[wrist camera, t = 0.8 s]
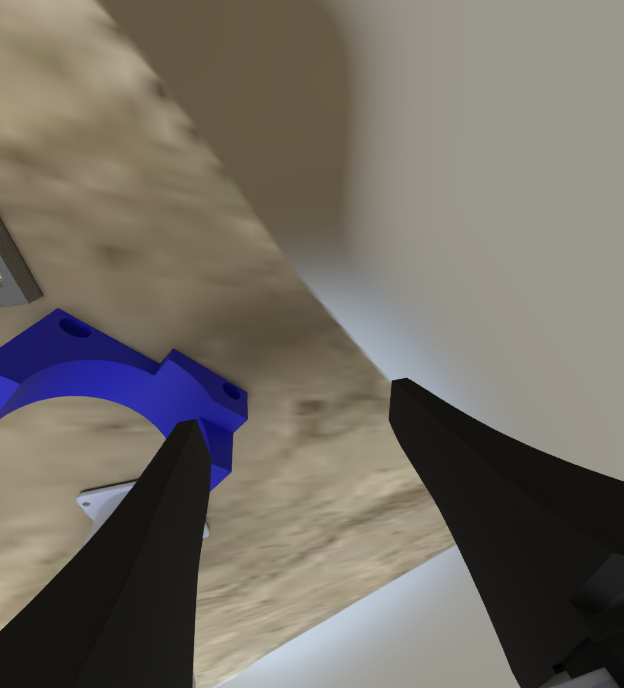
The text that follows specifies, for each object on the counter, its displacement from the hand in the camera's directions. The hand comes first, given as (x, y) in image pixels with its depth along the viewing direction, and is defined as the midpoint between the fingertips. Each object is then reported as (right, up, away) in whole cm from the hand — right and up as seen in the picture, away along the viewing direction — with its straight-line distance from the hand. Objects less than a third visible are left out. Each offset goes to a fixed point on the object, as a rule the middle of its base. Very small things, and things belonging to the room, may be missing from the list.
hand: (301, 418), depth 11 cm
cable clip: (-10, +1, +9) cm, 13 cm away
